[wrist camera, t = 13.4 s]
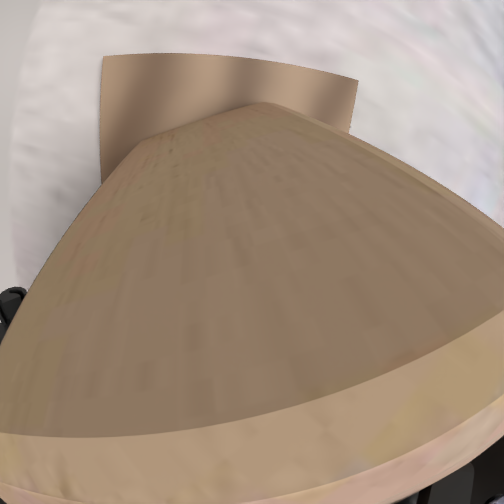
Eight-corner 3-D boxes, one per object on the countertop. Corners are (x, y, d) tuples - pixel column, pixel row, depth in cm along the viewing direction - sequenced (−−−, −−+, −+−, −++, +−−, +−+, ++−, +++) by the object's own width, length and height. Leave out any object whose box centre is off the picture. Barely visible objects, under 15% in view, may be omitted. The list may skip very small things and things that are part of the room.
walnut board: (349, 79, 20) (358, 80, 19) (307, 271, 29) (311, 280, 28) (109, 57, 16) (103, 56, 15) (115, 267, 26) (112, 277, 25)
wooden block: (181, 261, 24) (186, 547, 7) (130, 143, 18) (-60, 467, 2) (303, 224, 24) (441, 481, 7) (275, 97, 18) (615, 298, 1)
